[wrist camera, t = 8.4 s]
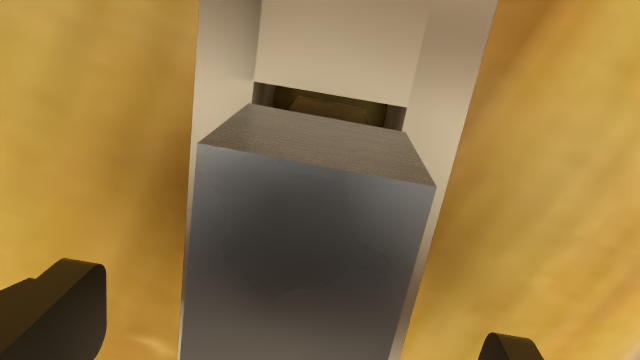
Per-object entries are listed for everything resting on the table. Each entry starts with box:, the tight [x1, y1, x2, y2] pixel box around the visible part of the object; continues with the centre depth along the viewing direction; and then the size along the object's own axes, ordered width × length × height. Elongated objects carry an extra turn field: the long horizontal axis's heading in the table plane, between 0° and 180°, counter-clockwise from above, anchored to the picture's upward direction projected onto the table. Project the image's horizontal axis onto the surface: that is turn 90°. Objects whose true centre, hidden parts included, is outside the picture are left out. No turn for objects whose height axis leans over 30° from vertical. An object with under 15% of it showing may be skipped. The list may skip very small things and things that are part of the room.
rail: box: [177, 0, 498, 360], centre depth 13 cm, size 20×6×4 cm, turn 171°
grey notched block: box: [180, 95, 437, 360], centre depth 11 cm, size 9×3×8 cm, turn 170°
